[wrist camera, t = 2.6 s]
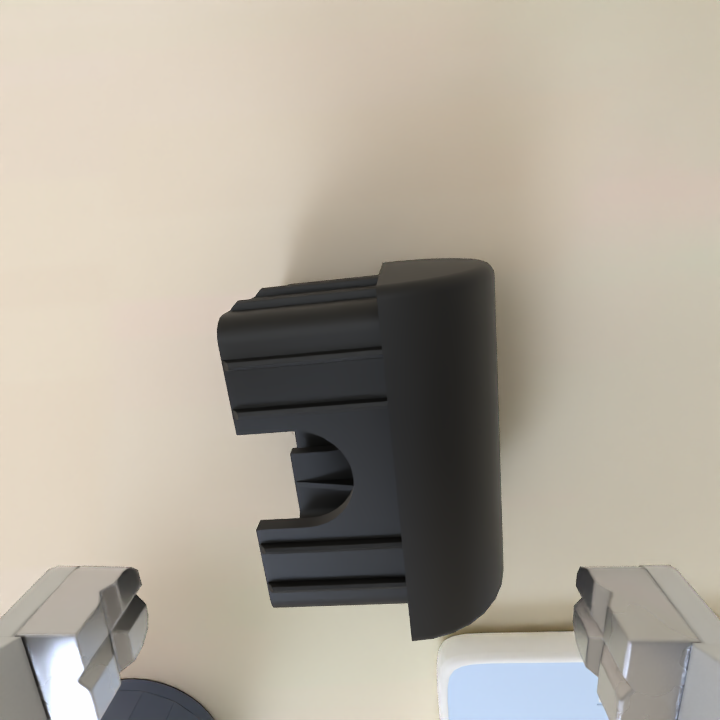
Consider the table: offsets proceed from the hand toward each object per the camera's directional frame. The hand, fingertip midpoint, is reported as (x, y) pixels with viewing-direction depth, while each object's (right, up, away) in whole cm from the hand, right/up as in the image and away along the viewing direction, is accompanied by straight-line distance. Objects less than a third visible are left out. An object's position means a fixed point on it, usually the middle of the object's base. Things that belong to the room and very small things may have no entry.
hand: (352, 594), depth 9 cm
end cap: (+1, +3, +10) cm, 10 cm away
